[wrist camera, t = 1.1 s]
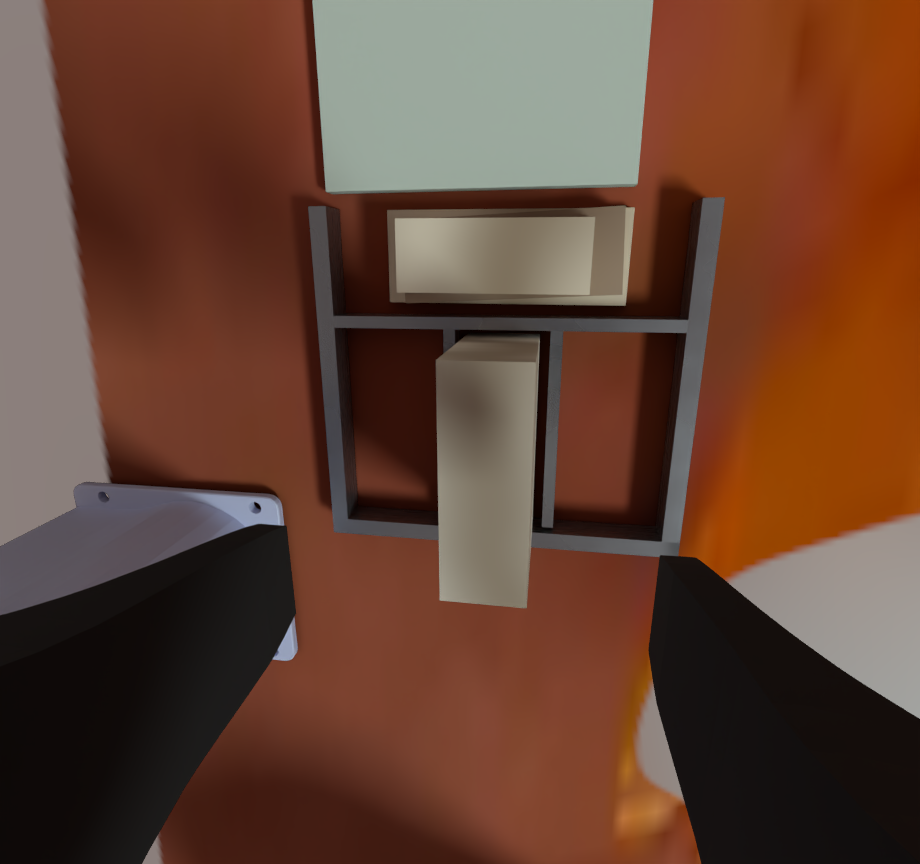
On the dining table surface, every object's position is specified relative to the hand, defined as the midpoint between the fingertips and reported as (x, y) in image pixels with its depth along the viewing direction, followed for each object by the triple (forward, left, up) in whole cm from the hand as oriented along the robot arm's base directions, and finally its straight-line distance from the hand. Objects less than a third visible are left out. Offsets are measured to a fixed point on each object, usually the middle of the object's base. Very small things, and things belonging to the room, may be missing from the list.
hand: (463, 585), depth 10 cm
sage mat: (-1, +12, -10) cm, 16 cm away
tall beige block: (0, 0, -10) cm, 10 cm away
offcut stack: (0, +6, -11) cm, 12 cm away
